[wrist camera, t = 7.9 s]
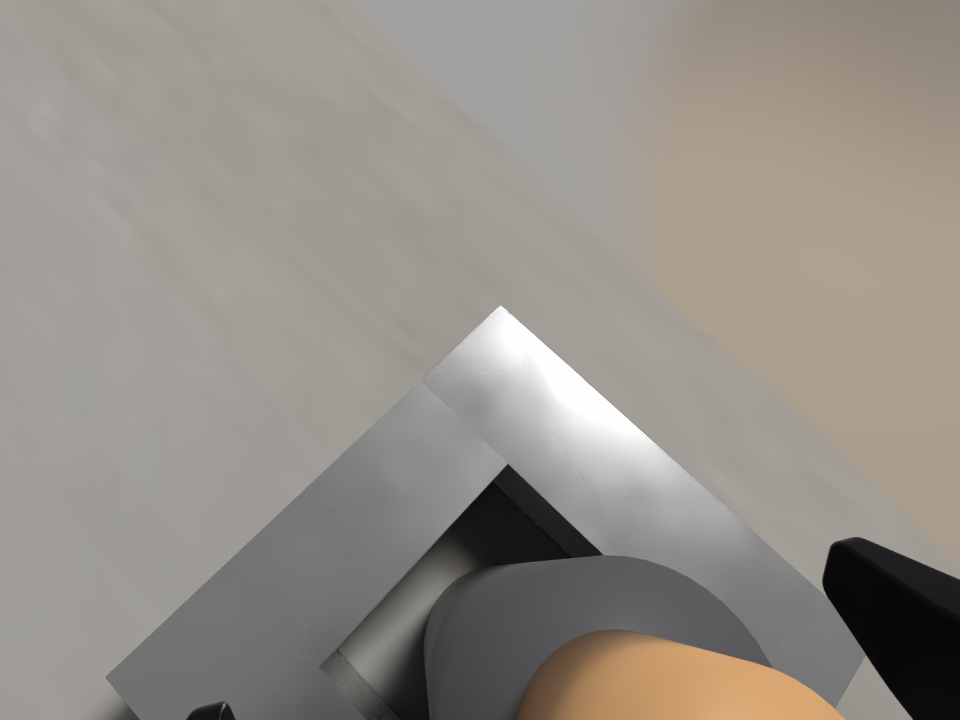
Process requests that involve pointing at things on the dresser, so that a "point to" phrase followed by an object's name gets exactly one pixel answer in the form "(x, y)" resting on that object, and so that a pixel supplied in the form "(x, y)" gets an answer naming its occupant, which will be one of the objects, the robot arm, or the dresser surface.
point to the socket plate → (434, 509)
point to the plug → (599, 648)
